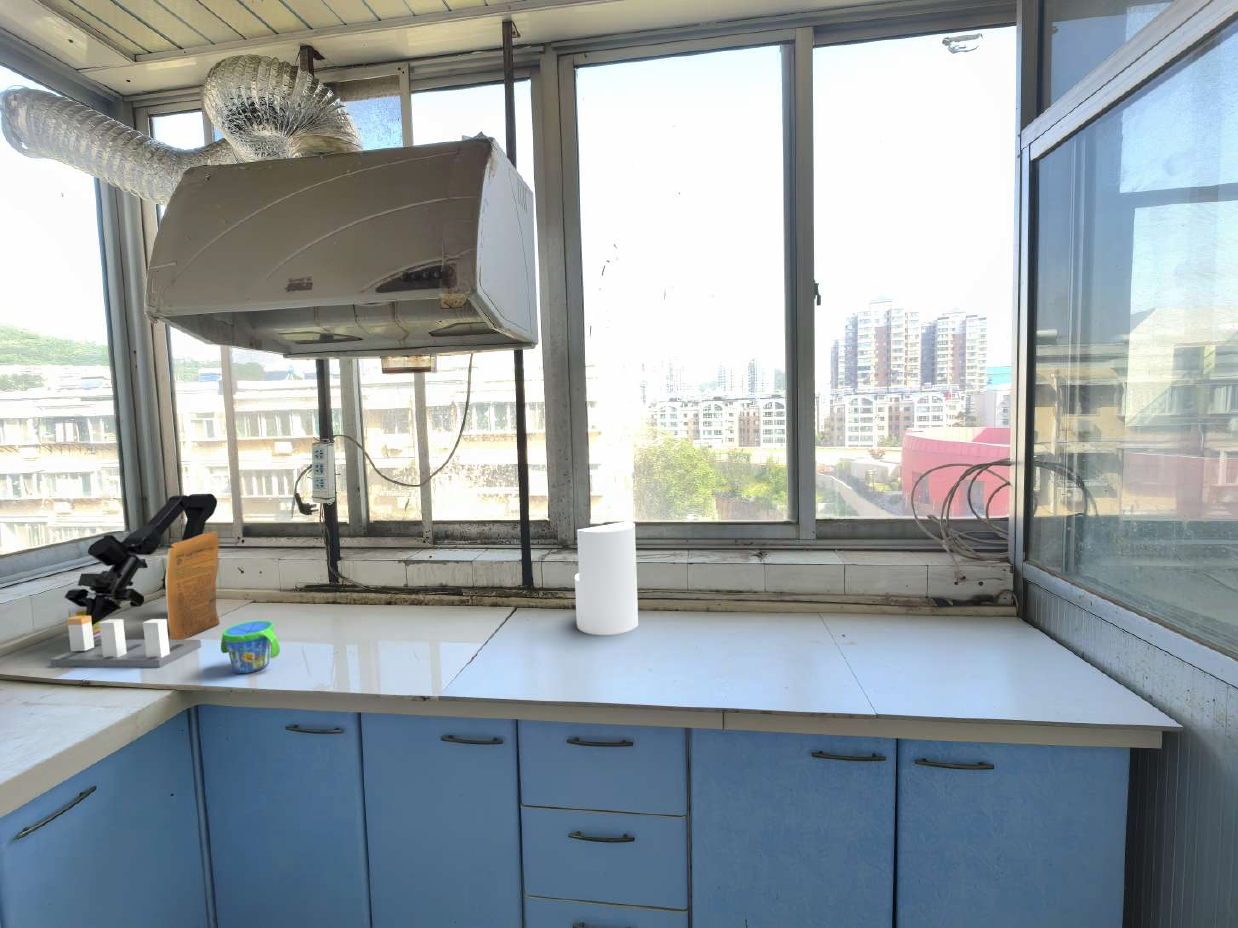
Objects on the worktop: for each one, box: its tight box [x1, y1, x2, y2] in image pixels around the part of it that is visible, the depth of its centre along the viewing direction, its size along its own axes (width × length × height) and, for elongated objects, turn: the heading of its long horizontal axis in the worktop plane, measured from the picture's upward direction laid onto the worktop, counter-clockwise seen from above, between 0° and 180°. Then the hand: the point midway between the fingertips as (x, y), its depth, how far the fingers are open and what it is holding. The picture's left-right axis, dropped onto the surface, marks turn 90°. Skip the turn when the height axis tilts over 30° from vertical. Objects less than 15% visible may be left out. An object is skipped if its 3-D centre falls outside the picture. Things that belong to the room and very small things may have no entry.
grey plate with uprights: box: [49, 618, 202, 669], centre depth 156 cm, size 13×30×11 cm, turn 85°
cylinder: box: [574, 520, 639, 636], centre depth 166 cm, size 17×17×28 cm
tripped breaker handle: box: [66, 616, 95, 651], centre depth 155 cm, size 3×4×8 cm, turn 85°
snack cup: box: [220, 620, 281, 674], centre depth 145 cm, size 16×10×10 cm
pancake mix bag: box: [165, 530, 220, 640], centre depth 172 cm, size 7×19×28 cm, turn 170°
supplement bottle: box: [67, 591, 102, 639], centre depth 171 cm, size 7×7×13 cm
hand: (86, 627), depth 157 cm, fingers closed, pressing on tripped breaker handle
